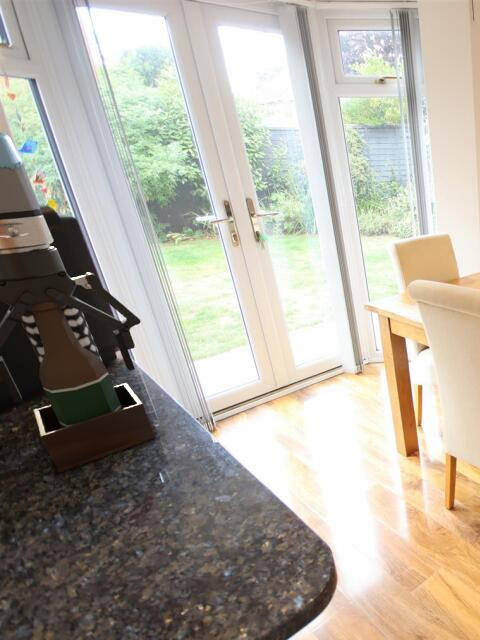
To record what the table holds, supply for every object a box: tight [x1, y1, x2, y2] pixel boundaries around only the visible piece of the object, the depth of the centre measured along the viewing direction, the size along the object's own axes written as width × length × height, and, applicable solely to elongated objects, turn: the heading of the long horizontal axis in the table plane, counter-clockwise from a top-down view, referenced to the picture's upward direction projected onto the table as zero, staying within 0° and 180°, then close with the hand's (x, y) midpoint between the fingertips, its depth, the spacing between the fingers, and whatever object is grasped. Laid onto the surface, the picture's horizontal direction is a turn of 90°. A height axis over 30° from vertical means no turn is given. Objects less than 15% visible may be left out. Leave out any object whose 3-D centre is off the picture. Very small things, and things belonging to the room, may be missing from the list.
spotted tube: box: [19, 296, 103, 365], centre depth 88 cm, size 8×8×20 cm
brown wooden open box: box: [33, 382, 156, 474], centre depth 76 cm, size 12×12×7 cm
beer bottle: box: [31, 301, 122, 428], centre depth 73 cm, size 8×8×24 cm
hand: (78, 382), depth 73 cm, fingers open, 13 cm apart
